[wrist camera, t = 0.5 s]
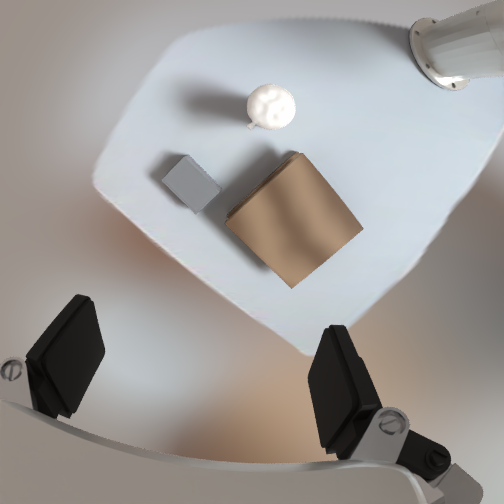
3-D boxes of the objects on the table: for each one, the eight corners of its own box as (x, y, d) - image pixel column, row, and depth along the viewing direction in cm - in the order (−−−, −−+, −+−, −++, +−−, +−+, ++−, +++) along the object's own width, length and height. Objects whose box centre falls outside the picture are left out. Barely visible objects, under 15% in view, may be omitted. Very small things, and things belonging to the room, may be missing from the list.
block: (189, 154, 33) (184, 156, 30) (221, 187, 34) (219, 192, 32) (168, 176, 34) (161, 180, 31) (200, 208, 35) (196, 214, 33)
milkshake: (234, 119, 31) (229, 111, 21) (265, 90, 29) (272, 70, 20) (261, 143, 32) (266, 145, 23) (292, 114, 30) (309, 105, 21)
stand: (296, 151, 32) (302, 153, 29) (352, 219, 36) (363, 228, 32) (227, 214, 35) (224, 223, 32) (287, 274, 39) (291, 288, 35)
